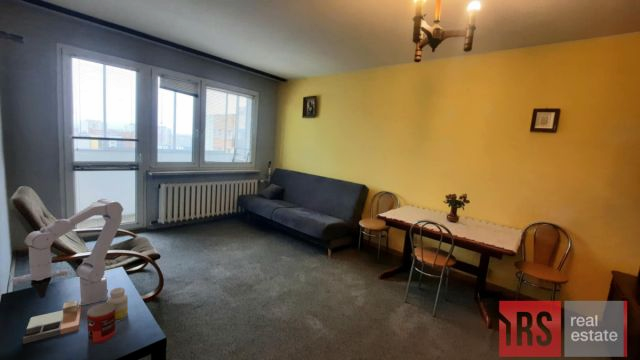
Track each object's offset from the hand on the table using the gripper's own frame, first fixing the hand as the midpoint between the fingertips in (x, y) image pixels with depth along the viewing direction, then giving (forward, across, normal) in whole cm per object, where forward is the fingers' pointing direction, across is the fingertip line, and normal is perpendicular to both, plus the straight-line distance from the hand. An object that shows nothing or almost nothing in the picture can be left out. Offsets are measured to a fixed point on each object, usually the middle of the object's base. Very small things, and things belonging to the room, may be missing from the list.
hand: (42, 296), depth 109 cm
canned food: (+10, +18, -22) cm, 30 cm away
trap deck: (+9, +4, -7) cm, 12 cm away
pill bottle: (+10, +23, -12) cm, 28 cm away
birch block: (+7, +8, -4) cm, 12 cm away
